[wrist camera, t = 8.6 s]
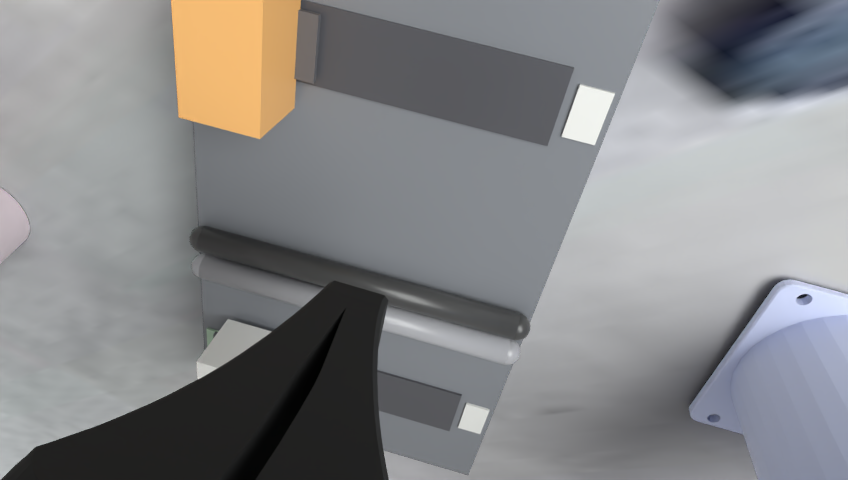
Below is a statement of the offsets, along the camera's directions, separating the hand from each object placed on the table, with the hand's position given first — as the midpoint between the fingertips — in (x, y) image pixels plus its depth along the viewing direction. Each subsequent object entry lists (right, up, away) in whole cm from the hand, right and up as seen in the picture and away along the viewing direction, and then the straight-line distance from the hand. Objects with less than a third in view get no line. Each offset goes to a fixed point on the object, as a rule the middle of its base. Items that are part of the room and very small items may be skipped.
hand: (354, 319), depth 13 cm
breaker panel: (0, +4, +9) cm, 10 cm away
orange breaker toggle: (-3, +8, +4) cm, 9 cm away
